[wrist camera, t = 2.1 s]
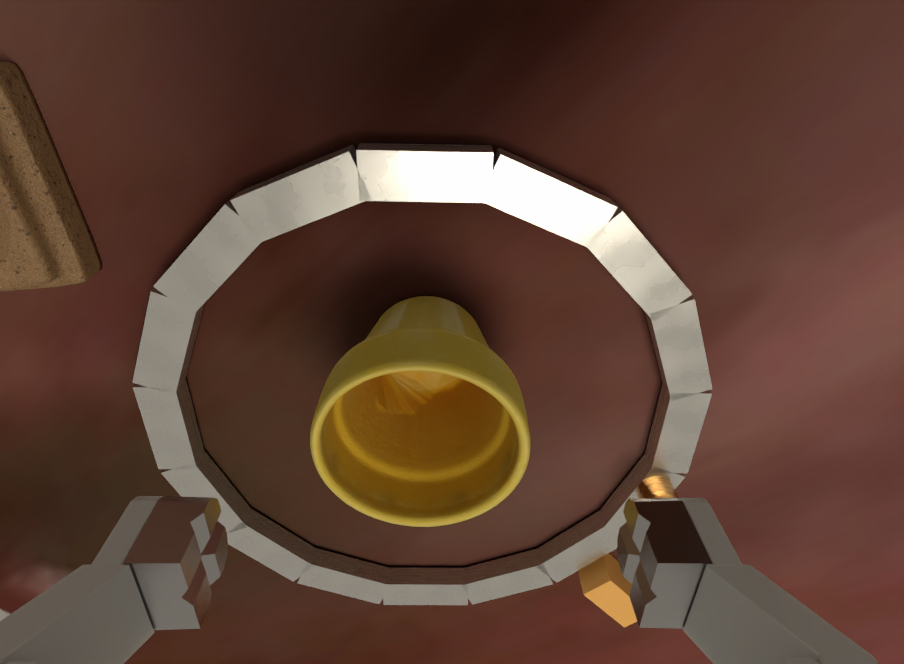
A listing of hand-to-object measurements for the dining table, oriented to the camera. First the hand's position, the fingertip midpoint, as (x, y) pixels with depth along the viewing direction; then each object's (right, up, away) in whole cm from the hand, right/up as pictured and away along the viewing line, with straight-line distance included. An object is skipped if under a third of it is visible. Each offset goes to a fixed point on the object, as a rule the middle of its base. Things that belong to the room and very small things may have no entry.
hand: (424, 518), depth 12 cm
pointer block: (+13, -15, +35) cm, 40 cm away
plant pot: (-1, +3, +24) cm, 24 cm away
